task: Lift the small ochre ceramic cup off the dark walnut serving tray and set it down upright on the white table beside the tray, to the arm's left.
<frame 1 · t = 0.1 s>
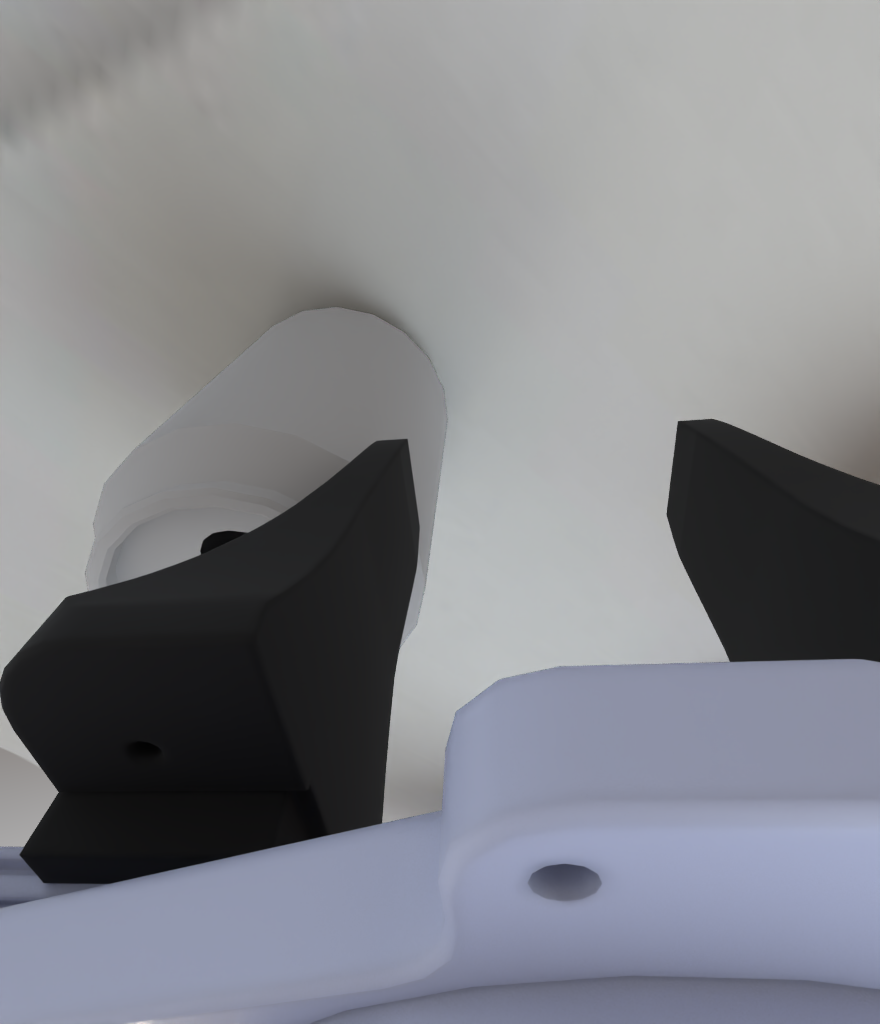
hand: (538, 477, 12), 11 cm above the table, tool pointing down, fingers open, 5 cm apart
can: (349, 402, 23), on the table, touching gripper
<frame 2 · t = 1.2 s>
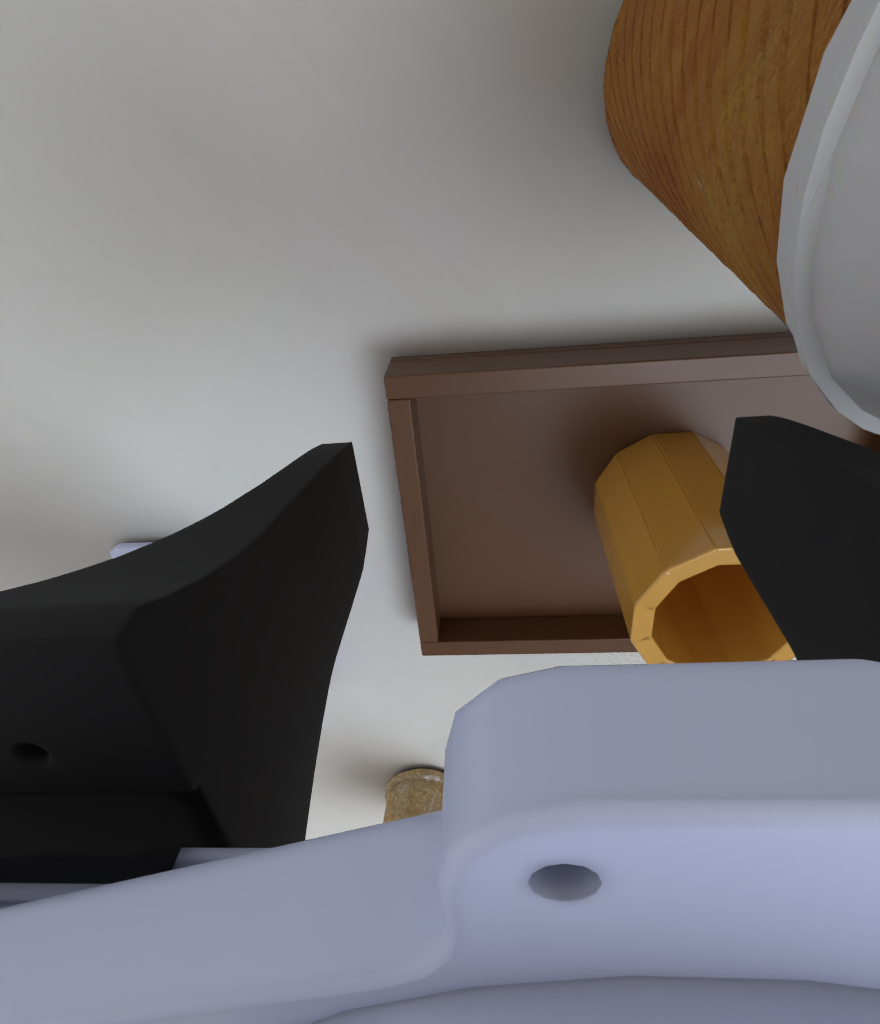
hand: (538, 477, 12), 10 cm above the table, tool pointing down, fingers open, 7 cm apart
tray: (632, 500, 24), on the table
sprinkles bottle: (426, 785, 35), on the table
disposable coffee cup: (716, 60, 16), point 1 cm above the table
cup: (663, 494, 23), resting on tray
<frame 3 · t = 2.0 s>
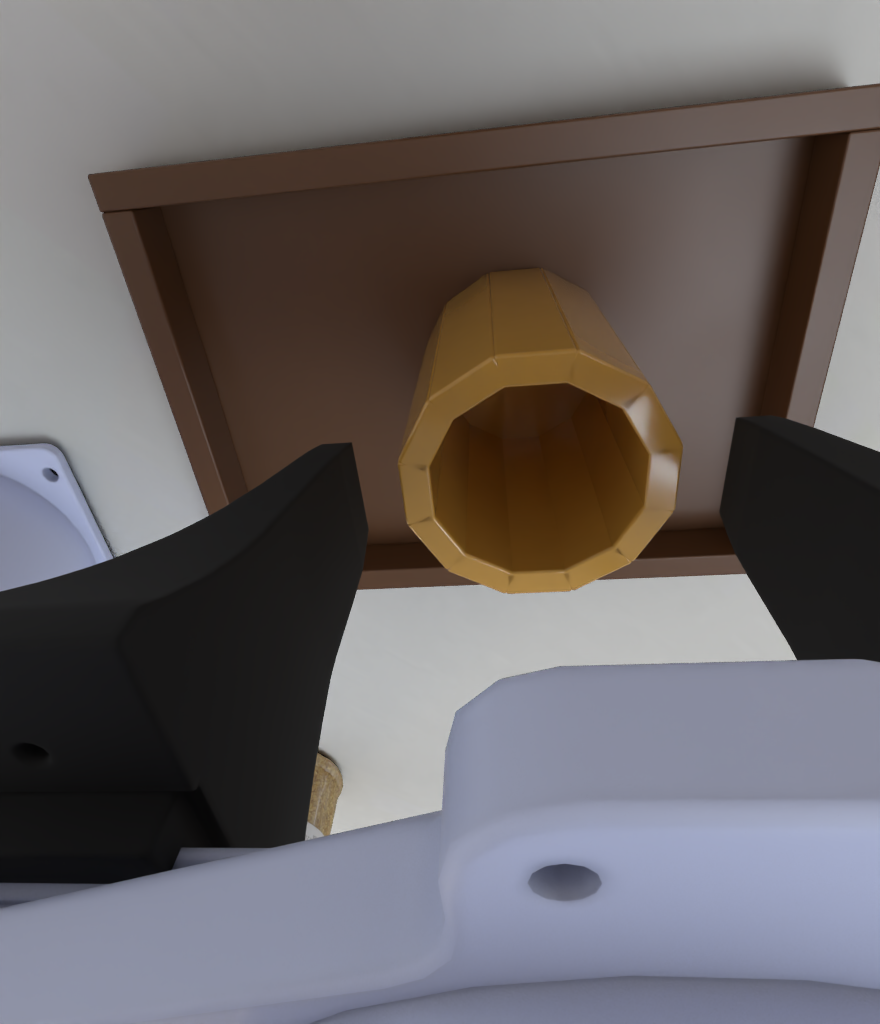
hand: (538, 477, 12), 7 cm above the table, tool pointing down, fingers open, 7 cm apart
tray: (483, 378, 18), on the table
sprinkles bottle: (300, 767, 29), on the table
cup: (517, 365, 17), resting on tray
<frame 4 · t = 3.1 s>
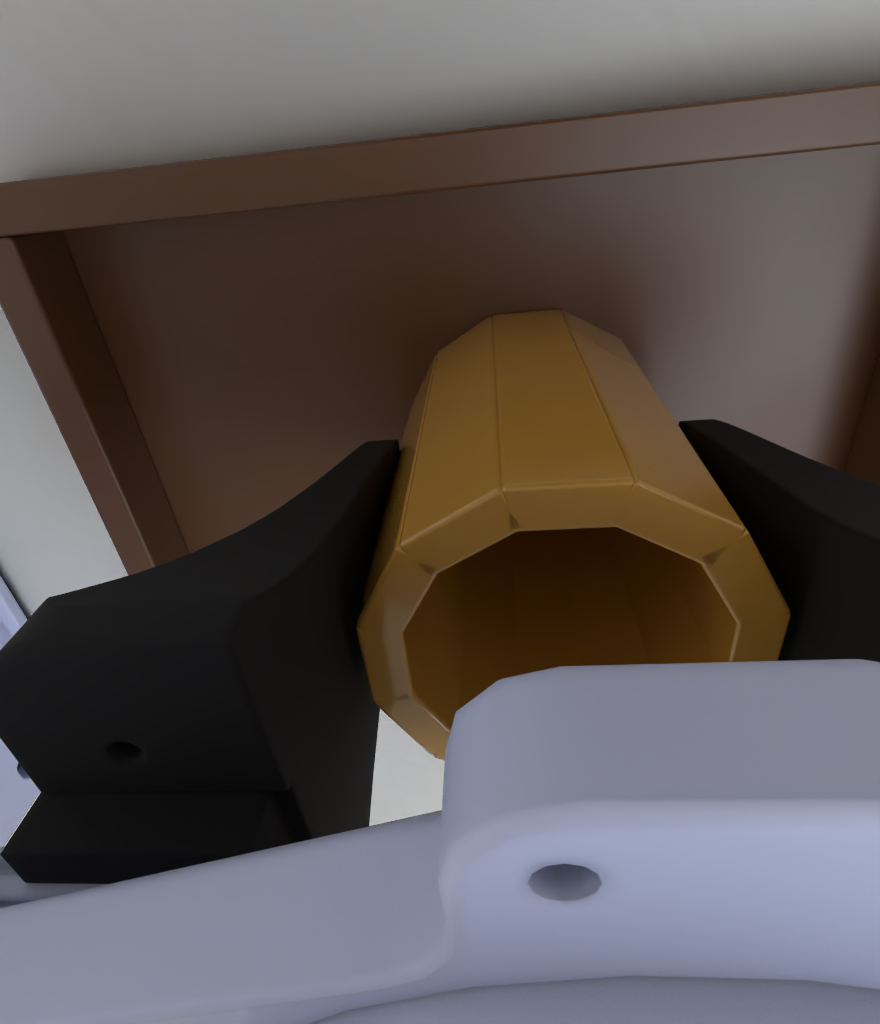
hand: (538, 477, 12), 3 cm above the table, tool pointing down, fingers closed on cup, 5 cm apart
tray: (486, 442, 14), on the table
cup: (528, 429, 13), resting on tray, touching gripper
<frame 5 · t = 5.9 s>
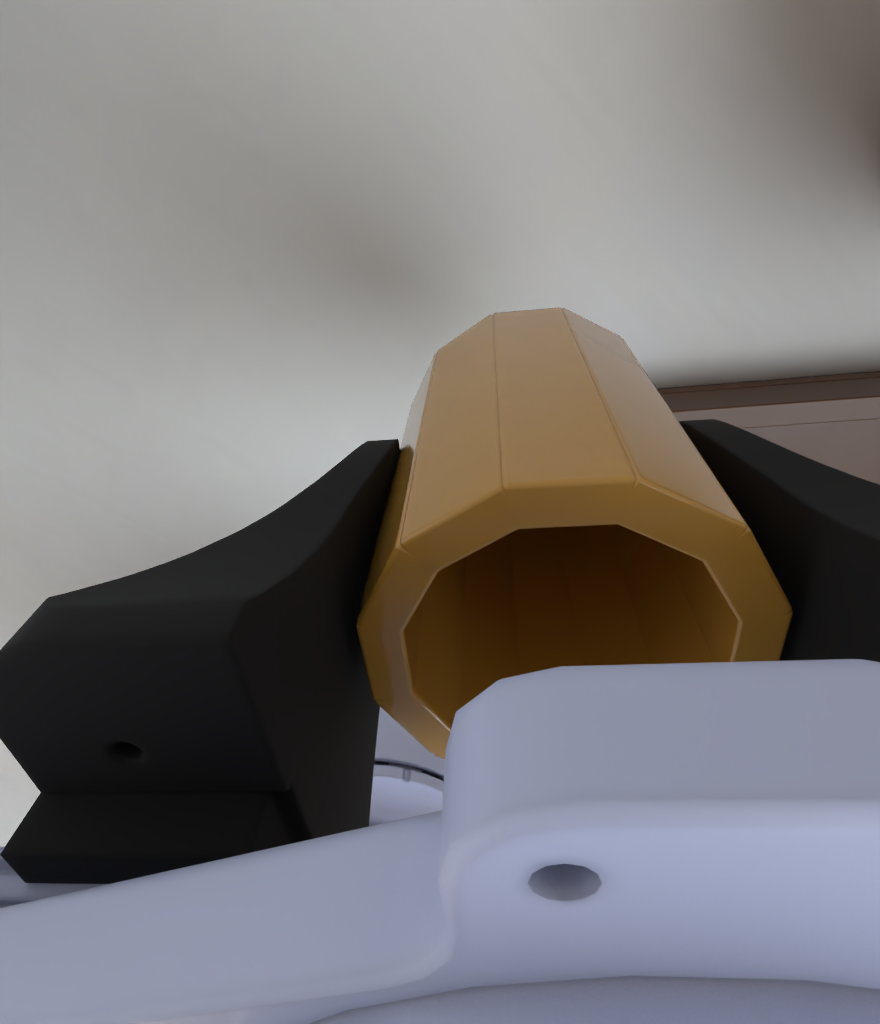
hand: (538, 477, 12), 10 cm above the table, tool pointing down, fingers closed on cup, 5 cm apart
tray: (851, 527, 23), on the table
cup: (528, 427, 13), point 8 cm above the table, touching gripper
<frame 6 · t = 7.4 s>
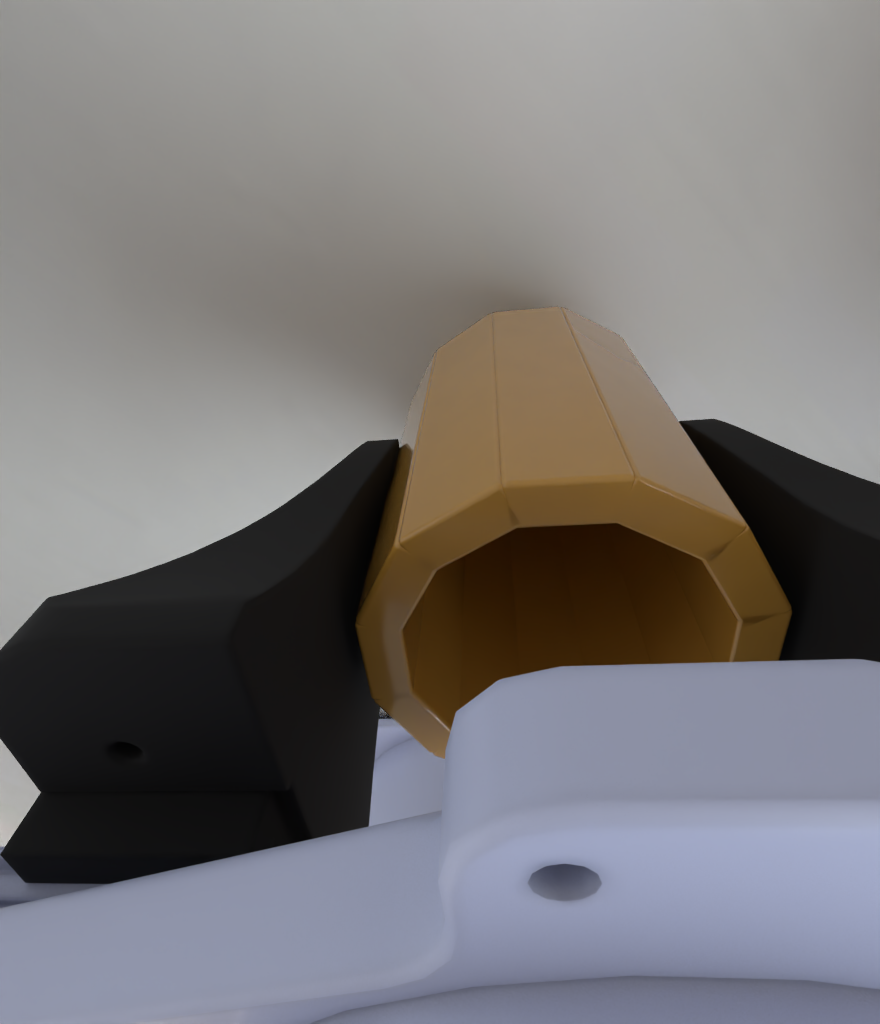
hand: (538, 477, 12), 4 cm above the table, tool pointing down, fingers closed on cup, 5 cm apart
cup: (528, 427, 13), point 2 cm above the table, touching gripper
when the fingers open (2 cm above the table, at t = 8.6 s): cup stays where it is, on the table.
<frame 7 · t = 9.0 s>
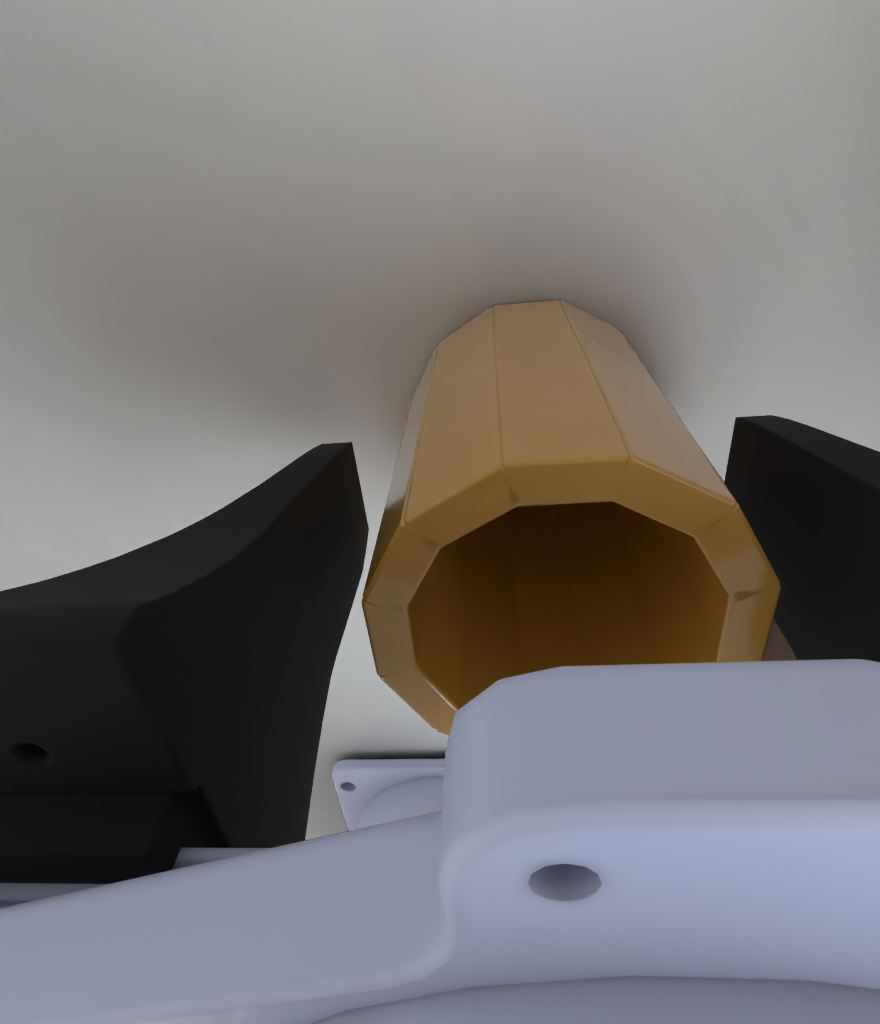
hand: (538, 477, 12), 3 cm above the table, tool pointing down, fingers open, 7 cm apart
cup: (528, 418, 14), on the table
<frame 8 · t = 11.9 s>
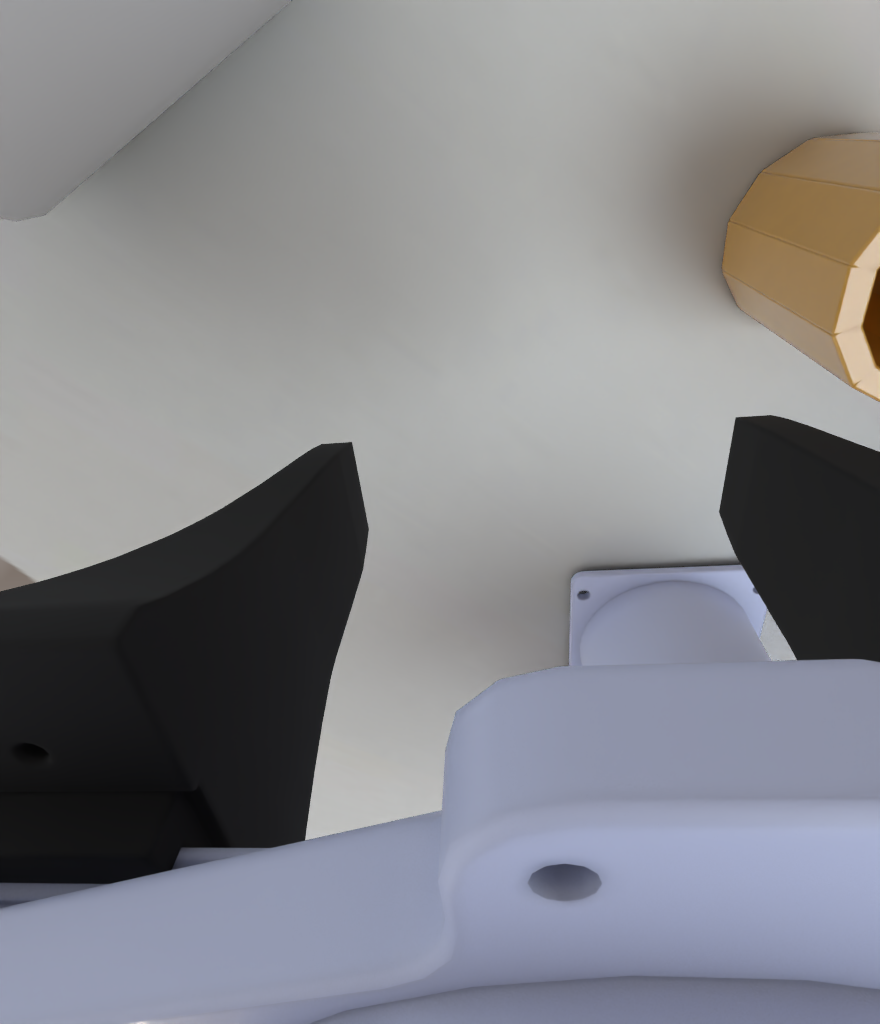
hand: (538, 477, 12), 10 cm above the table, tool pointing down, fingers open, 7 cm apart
cup: (814, 237, 18), on the table
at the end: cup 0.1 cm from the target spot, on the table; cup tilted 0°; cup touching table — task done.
